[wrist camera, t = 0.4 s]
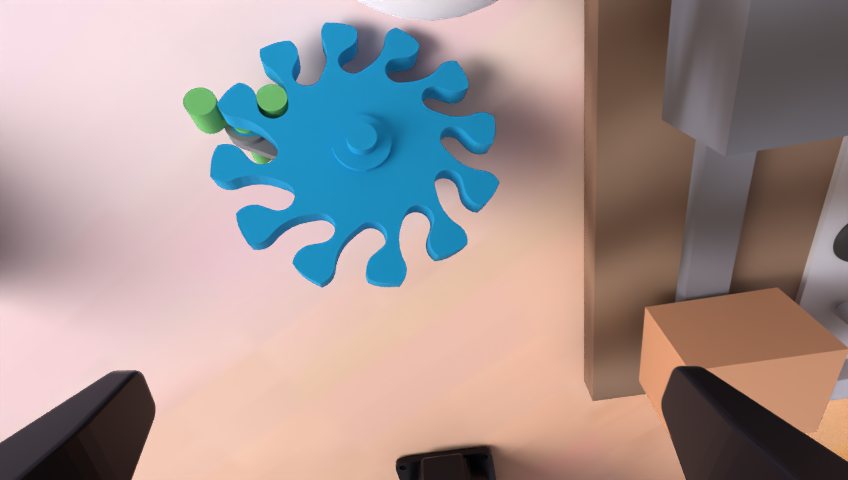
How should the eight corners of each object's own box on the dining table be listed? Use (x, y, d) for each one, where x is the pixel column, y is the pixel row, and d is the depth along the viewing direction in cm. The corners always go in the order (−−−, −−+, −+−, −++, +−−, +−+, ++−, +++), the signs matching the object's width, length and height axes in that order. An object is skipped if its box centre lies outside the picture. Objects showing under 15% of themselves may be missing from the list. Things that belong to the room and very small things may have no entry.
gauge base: (844, 345, 26) (962, 446, 21) (584, 380, 28) (629, 486, 22) (1028, -129, 15) (1385, -189, 10) (584, -39, 17) (674, -46, 11)
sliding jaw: (839, 345, 24) (923, 418, 20) (634, 373, 24) (677, 449, 20) (869, 266, 21) (973, 331, 17) (640, 300, 22) (689, 370, 18)
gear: (535, 68, 17) (460, 328, 14) (490, 141, 23) (430, 337, 20) (248, -40, 16) (108, 208, 13) (276, 63, 22) (181, 254, 19)
